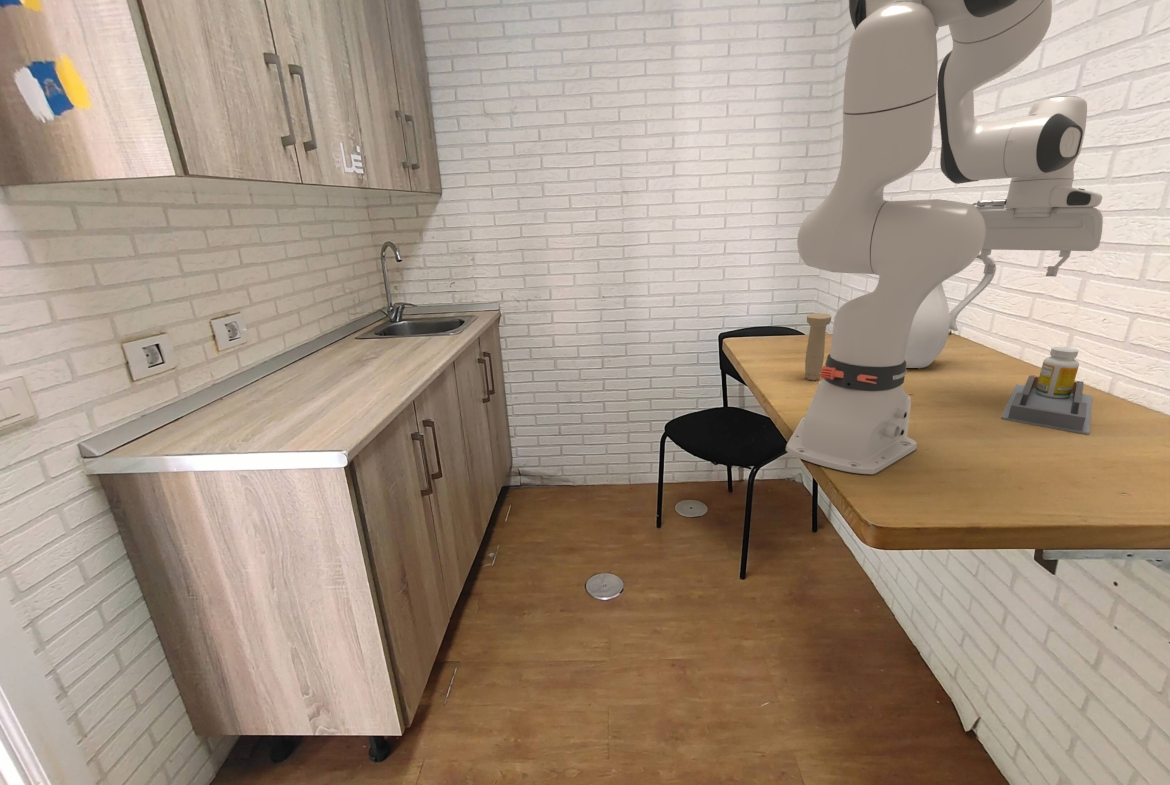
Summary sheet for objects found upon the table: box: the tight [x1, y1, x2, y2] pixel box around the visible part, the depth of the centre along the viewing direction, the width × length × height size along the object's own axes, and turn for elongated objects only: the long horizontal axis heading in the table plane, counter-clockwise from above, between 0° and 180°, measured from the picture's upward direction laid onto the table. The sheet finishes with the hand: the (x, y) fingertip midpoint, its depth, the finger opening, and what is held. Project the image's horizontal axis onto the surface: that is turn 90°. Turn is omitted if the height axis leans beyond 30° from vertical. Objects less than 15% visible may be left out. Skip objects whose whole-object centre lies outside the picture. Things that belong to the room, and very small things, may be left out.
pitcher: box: [904, 251, 997, 369], centre depth 126 cm, size 24×17×28 cm
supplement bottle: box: [1036, 346, 1080, 399], centre depth 104 cm, size 5×5×10 cm
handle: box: [804, 312, 832, 381], centre depth 120 cm, size 5×6×15 cm
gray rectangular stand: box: [1000, 374, 1093, 436], centre depth 100 cm, size 24×12×3 cm, turn 137°
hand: (1018, 274), depth 100 cm, fingers open, 8 cm apart
